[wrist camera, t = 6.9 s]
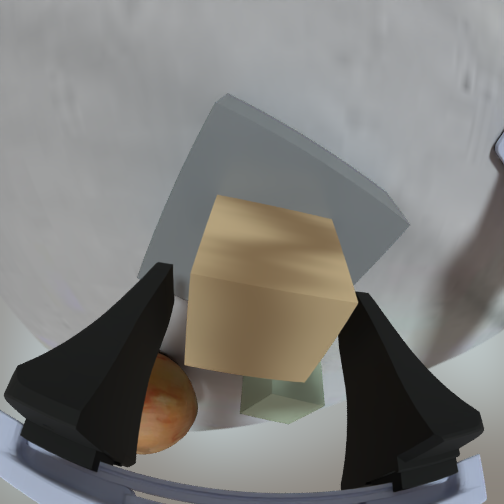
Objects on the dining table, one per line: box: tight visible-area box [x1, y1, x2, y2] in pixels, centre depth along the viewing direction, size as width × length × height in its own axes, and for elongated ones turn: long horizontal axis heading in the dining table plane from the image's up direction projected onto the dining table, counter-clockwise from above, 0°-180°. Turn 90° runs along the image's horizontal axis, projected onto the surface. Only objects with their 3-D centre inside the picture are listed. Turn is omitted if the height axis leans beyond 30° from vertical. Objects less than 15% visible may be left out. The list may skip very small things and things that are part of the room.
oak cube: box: [184, 195, 358, 383], centre depth 12 cm, size 5×5×5 cm
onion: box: [136, 353, 198, 454], centre depth 23 cm, size 10×10×10 cm
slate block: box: [137, 94, 410, 301], centre depth 15 cm, size 10×10×4 cm
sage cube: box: [240, 361, 325, 424], centre depth 23 cm, size 5×5×5 cm
